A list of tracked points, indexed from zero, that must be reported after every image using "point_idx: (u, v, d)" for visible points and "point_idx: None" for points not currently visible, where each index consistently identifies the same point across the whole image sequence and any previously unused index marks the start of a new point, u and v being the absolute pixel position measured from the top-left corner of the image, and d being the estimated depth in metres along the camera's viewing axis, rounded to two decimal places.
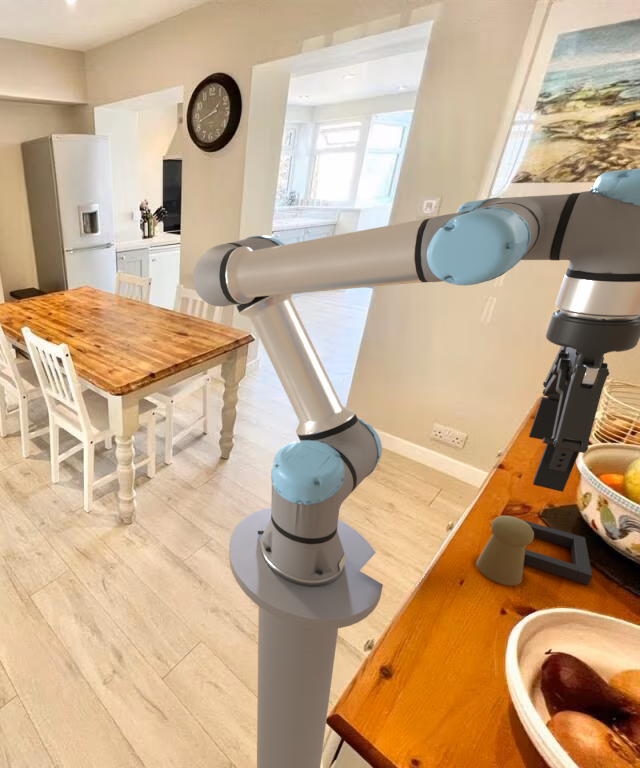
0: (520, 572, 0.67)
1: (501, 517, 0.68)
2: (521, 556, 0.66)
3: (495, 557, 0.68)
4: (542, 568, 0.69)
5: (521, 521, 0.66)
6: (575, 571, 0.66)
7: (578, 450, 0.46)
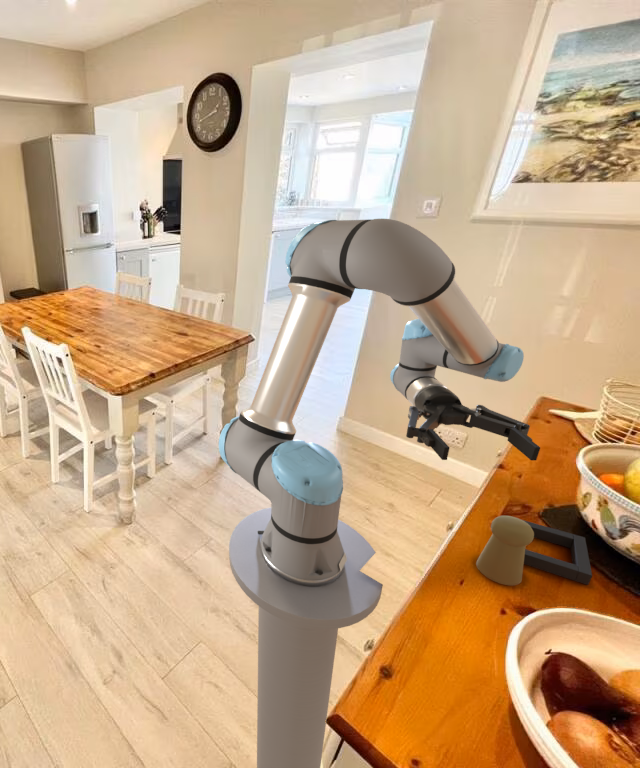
0: (520, 572, 0.67)
1: (501, 517, 0.68)
2: (521, 556, 0.66)
3: (495, 557, 0.68)
4: (542, 568, 0.69)
5: (521, 521, 0.66)
6: (575, 571, 0.66)
7: None
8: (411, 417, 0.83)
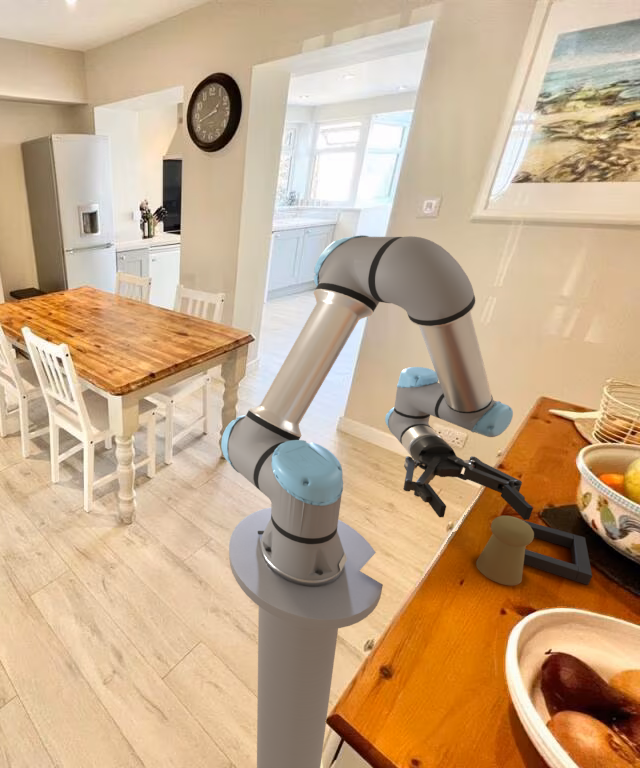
0: (520, 572, 0.67)
1: (501, 517, 0.68)
2: (521, 556, 0.66)
3: (495, 557, 0.68)
4: (542, 568, 0.69)
5: (521, 521, 0.66)
6: (575, 571, 0.66)
7: None
8: (408, 469, 0.85)
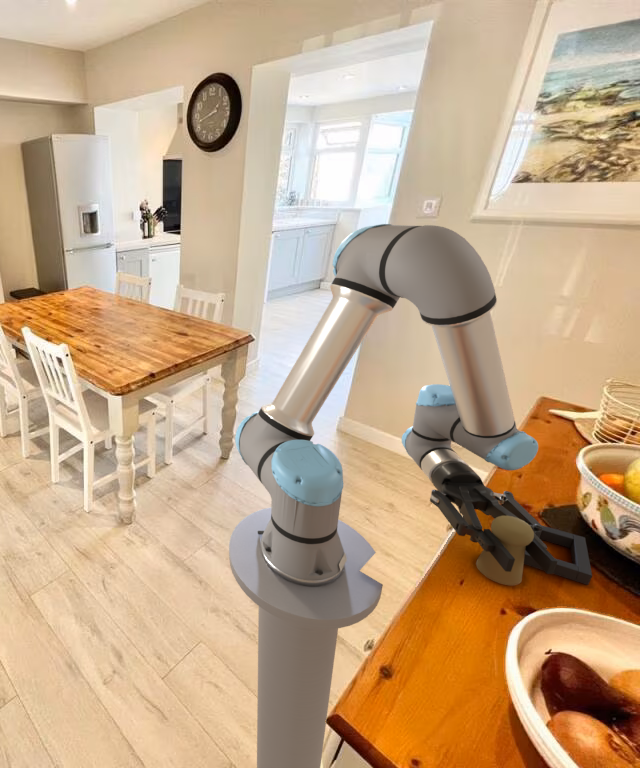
0: (520, 572, 0.67)
1: (501, 517, 0.68)
2: (521, 556, 0.66)
3: None
4: None
5: (521, 521, 0.66)
6: (575, 571, 0.66)
7: (539, 535, 0.69)
8: (449, 508, 0.74)
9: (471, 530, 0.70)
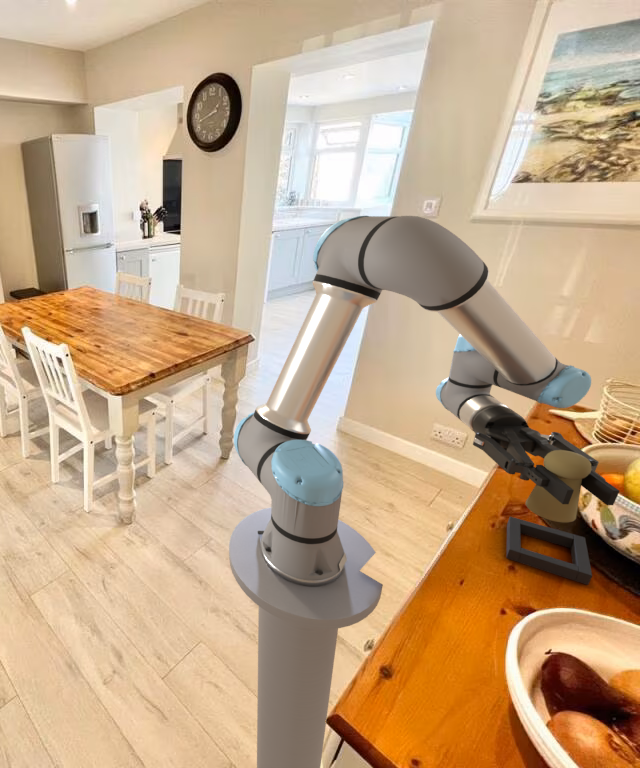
0: (575, 508, 0.64)
1: (555, 451, 0.65)
2: (577, 491, 0.63)
3: (548, 493, 0.65)
4: (542, 568, 0.69)
5: (577, 454, 0.64)
6: (575, 571, 0.66)
7: (594, 471, 0.66)
8: (497, 448, 0.71)
9: (522, 467, 0.67)
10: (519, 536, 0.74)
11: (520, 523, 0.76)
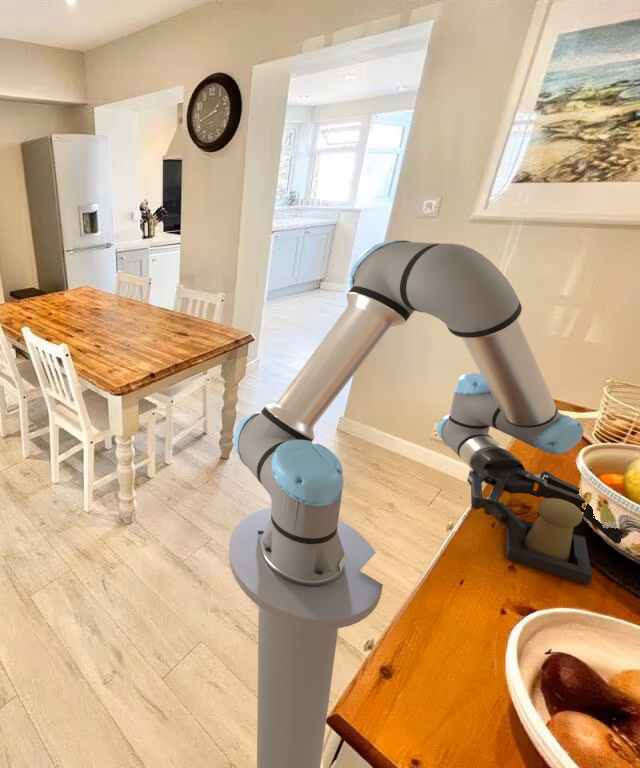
0: (567, 553, 0.69)
1: (549, 499, 0.70)
2: (569, 537, 0.68)
3: (542, 538, 0.70)
4: (542, 568, 0.69)
5: (569, 503, 0.68)
6: (575, 571, 0.66)
7: None
8: (475, 485, 0.78)
9: None
10: None
11: None
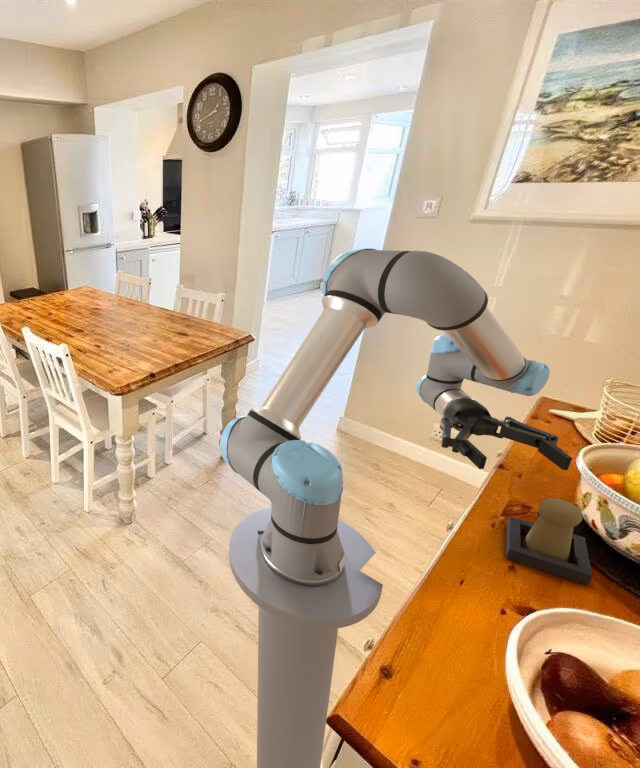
0: (567, 553, 0.69)
1: (549, 499, 0.70)
2: (569, 537, 0.68)
3: (542, 538, 0.70)
4: (542, 568, 0.69)
5: (569, 503, 0.68)
6: (575, 571, 0.66)
7: (555, 445, 0.81)
8: (445, 428, 0.88)
9: None
10: (519, 536, 0.74)
11: (520, 523, 0.76)
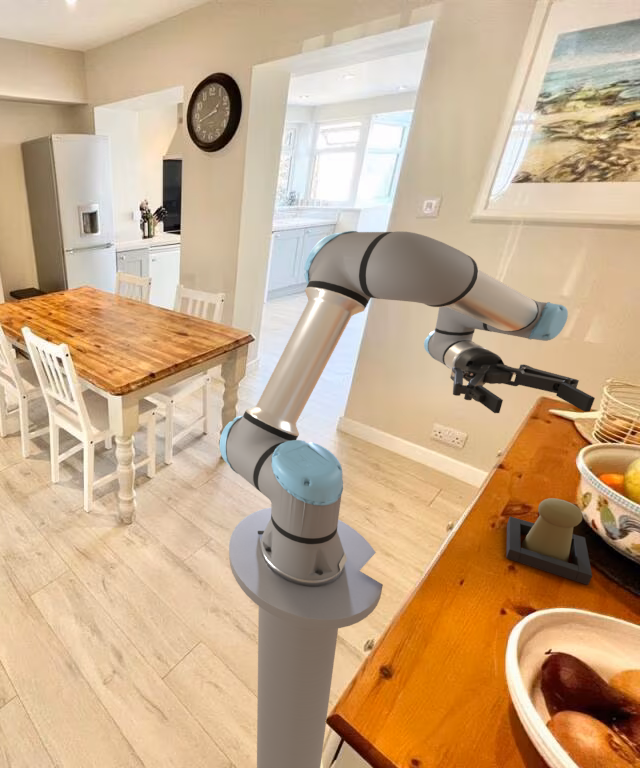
0: (567, 553, 0.69)
1: (549, 500, 0.70)
2: (569, 537, 0.68)
3: (542, 538, 0.70)
4: (542, 568, 0.69)
5: (569, 503, 0.68)
6: (575, 571, 0.66)
7: None
8: (456, 376, 0.83)
9: None
10: (519, 536, 0.74)
11: (520, 523, 0.76)
